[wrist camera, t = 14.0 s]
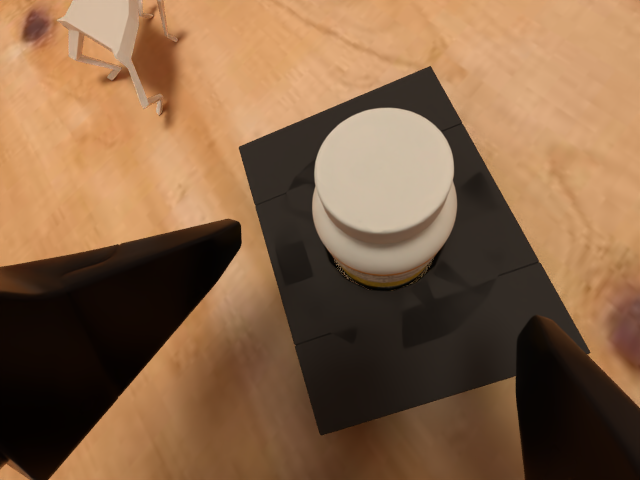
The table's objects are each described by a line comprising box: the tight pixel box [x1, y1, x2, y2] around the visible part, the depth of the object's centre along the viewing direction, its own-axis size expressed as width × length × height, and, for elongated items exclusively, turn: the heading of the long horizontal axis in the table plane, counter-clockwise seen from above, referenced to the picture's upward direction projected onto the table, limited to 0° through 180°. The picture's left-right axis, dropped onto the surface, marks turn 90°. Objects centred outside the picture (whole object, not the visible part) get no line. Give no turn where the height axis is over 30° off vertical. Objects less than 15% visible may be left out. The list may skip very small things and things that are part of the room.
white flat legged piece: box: [57, 0, 178, 115], centre depth 23 cm, size 12×8×5 cm
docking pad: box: [239, 66, 590, 435], centre depth 17 cm, size 16×12×2 cm
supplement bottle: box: [312, 108, 457, 290], centre depth 13 cm, size 5×5×10 cm
